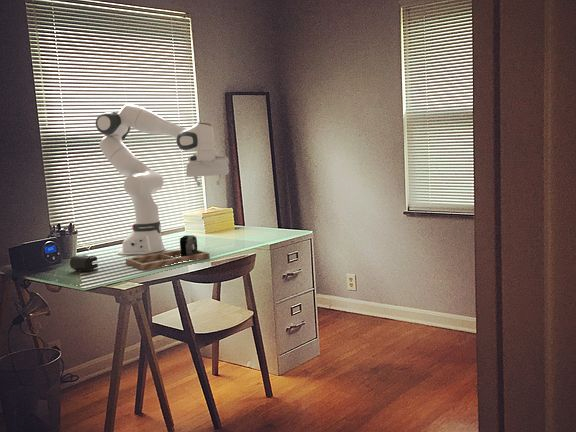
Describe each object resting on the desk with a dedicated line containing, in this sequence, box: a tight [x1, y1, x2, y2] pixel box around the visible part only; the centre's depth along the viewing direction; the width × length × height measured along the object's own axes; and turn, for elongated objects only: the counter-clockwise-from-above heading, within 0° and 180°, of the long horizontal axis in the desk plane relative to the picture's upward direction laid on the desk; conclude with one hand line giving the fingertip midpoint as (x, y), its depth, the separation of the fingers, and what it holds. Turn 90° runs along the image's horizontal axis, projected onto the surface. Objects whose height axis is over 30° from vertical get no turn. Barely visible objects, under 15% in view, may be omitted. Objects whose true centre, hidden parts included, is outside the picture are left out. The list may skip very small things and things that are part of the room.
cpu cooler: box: [179, 234, 198, 257], centre depth 281 cm, size 10×6×10 cm, turn 173°
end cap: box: [69, 254, 99, 273], centre depth 266 cm, size 10×7×7 cm
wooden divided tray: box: [125, 249, 211, 271], centre depth 277 cm, size 32×20×2 cm, turn 125°
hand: (208, 185), depth 297 cm, fingers open, 8 cm apart
